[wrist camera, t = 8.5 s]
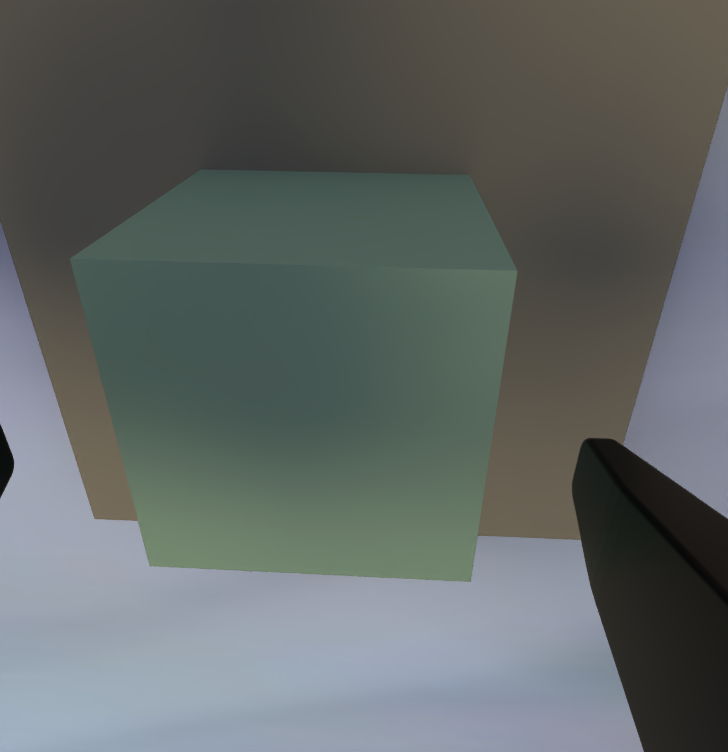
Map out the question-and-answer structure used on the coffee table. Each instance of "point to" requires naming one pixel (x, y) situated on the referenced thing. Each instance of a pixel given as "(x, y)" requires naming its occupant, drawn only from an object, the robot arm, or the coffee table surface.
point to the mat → (381, 155)
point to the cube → (304, 369)
